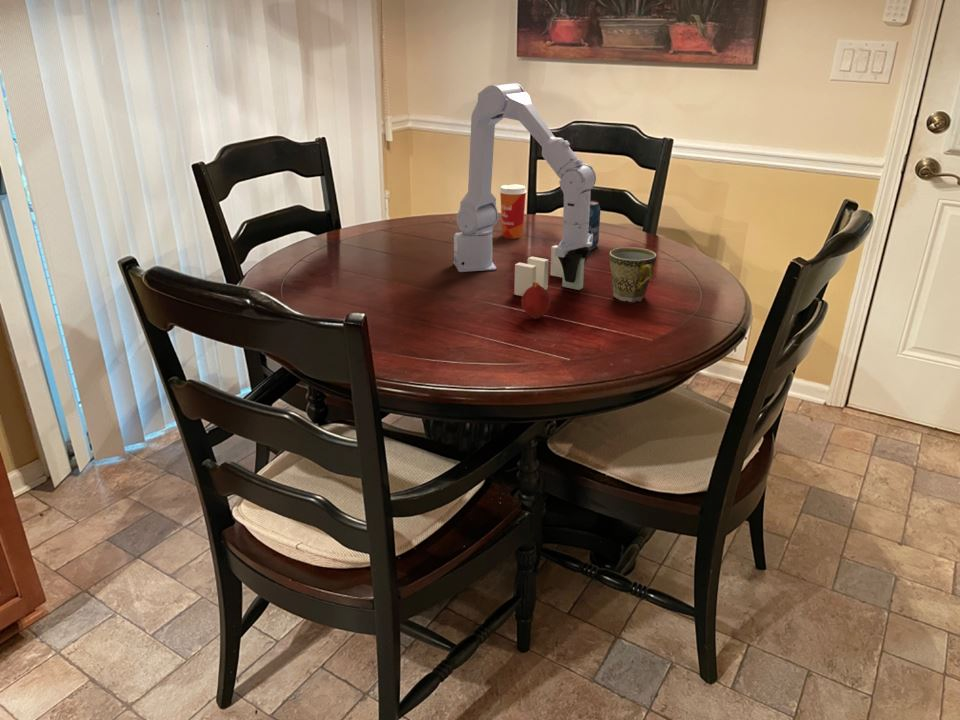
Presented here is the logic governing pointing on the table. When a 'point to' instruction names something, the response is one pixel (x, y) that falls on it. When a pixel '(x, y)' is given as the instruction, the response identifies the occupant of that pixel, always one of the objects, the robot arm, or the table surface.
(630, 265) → the ceramic cup
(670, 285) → the table surface
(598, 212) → the soda can
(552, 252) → the domino
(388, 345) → the table surface
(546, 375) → the table surface
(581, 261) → the domino
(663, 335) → the table surface
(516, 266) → the domino
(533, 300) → the onion
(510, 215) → the paper cup
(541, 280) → the domino
